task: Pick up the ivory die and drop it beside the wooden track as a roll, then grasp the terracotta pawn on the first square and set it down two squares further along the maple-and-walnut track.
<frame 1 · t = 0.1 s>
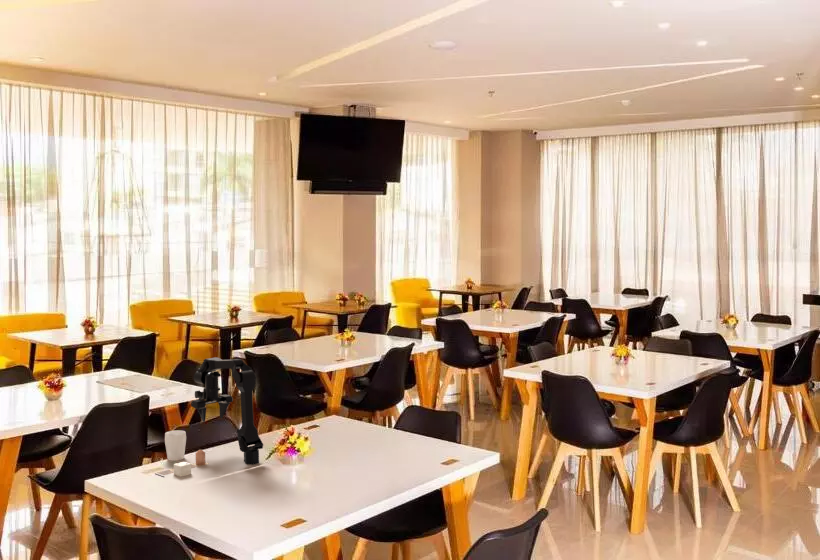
hand: (212, 420, 365), 15 cm above the table, fingers open, 9 cm apart
pawn: (200, 463, 345), point 1 cm above the table, touching track
cup: (175, 460, 354), on the table
track: (183, 469, 339), on the table
die: (182, 476, 330), on the table
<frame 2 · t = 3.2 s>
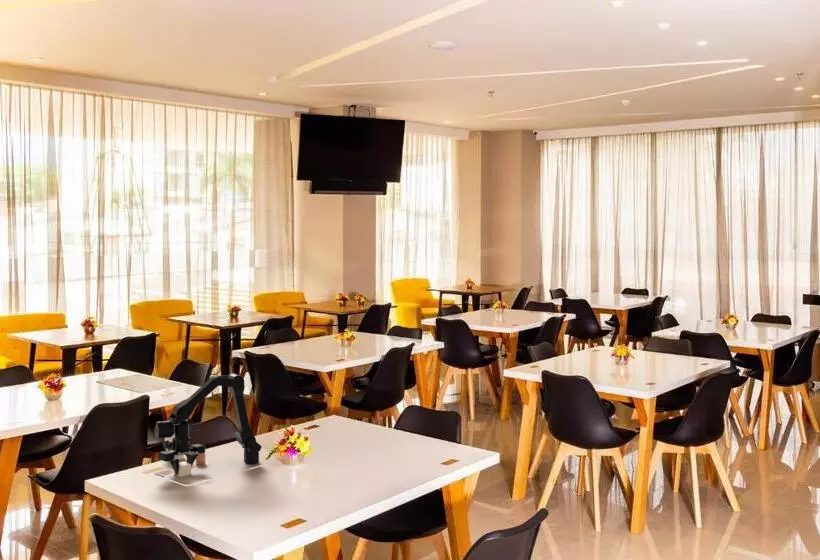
hand: (182, 473, 330), 1 cm above the table, fingers closed on die, 5 cm apart
die: (182, 476, 330), on the table, touching gripper
everything else where it was.
when the fingers open (7 cm above the table, at t = 5.3 s): die drops 6 cm, on the table.
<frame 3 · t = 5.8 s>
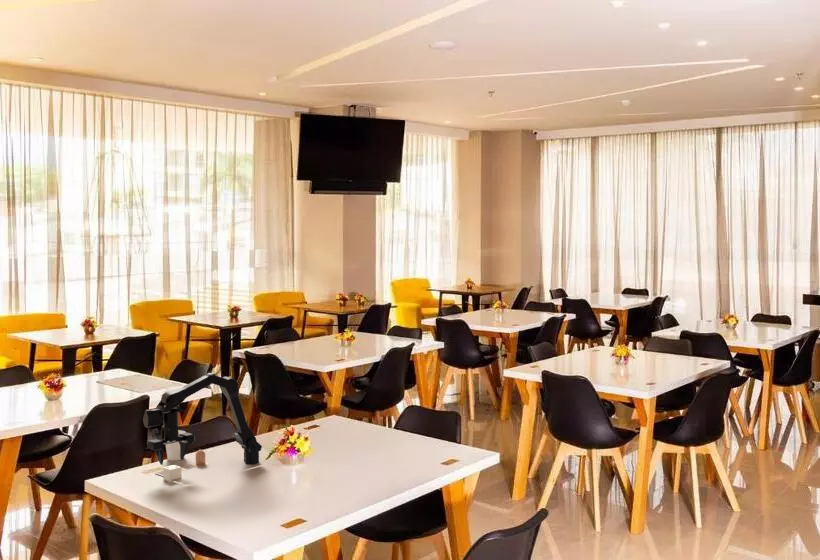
hand: (171, 462, 325), 7 cm above the table, fingers open, 9 cm apart
die: (172, 479, 326), on the table
everything else where it was.
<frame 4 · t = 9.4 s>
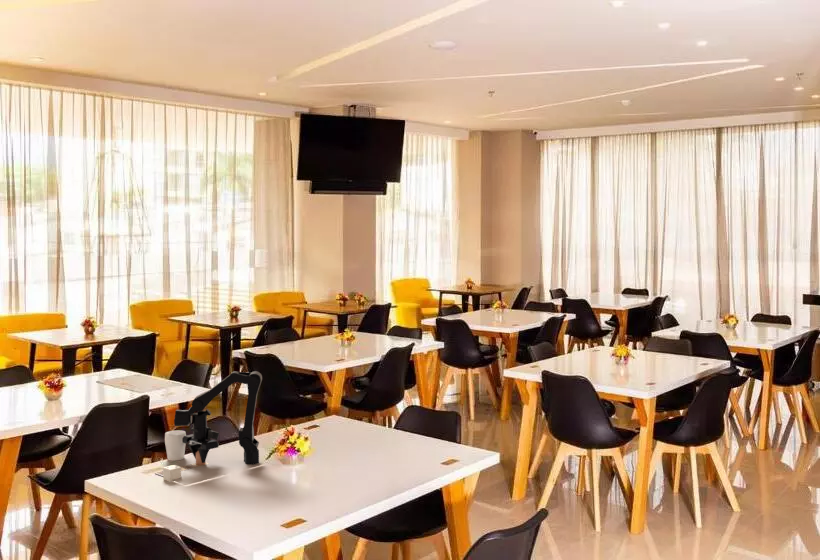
hand: (200, 461, 345), 2 cm above the table, fingers closed on pawn, 4 cm apart
pawn: (200, 463, 345), point 1 cm above the table, touching gripper, track
everything else where it was.
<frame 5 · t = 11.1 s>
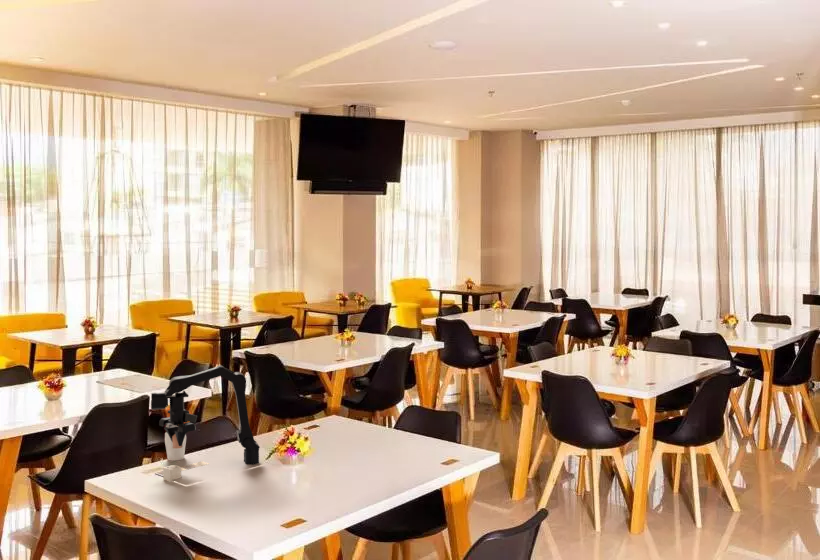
hand: (177, 445, 336), 11 cm above the table, fingers closed on pawn, 4 cm apart
pawn: (177, 447, 336), point 10 cm above the table, touching gripper
everything else where it was.
when the fingers open (3 cm above the table, at t = 12.9 s): pawn drops 1 cm, resting on track.
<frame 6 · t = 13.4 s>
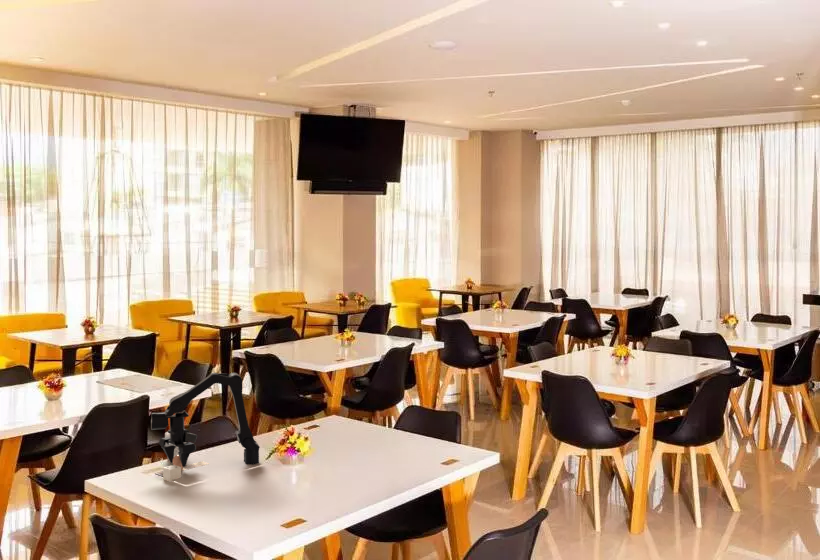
hand: (177, 464, 337), 3 cm above the table, fingers open, 9 cm apart
pawn: (177, 469, 337), point 1 cm above the table, touching track
everything else where it was.
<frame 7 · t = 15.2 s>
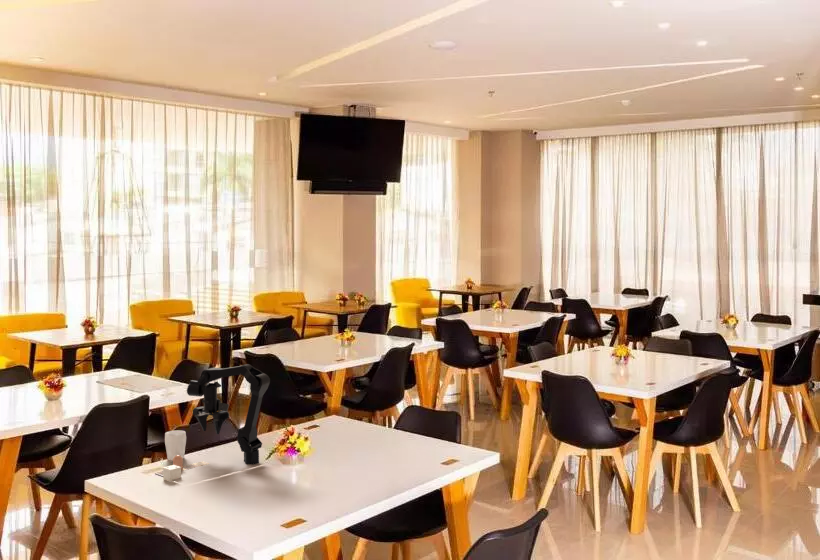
hand: (211, 432, 353), 12 cm above the table, fingers open, 9 cm apart
nothing on the table moved.
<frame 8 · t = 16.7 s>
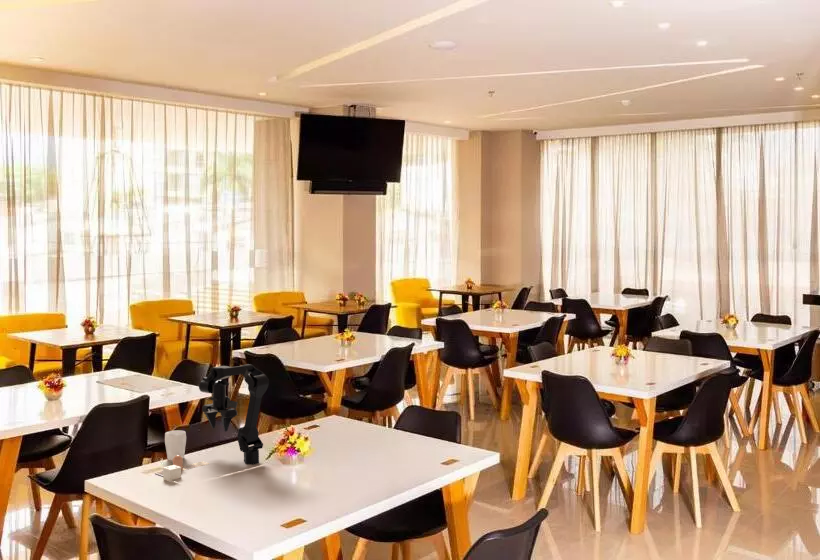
hand: (219, 429, 358), 12 cm above the table, fingers open, 9 cm apart
nothing on the table moved.
at the end: pawn 0.1 cm from the target spot, point 0.7 cm above the table; pawn tilted 1°; die moved 5.4 cm from its start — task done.
